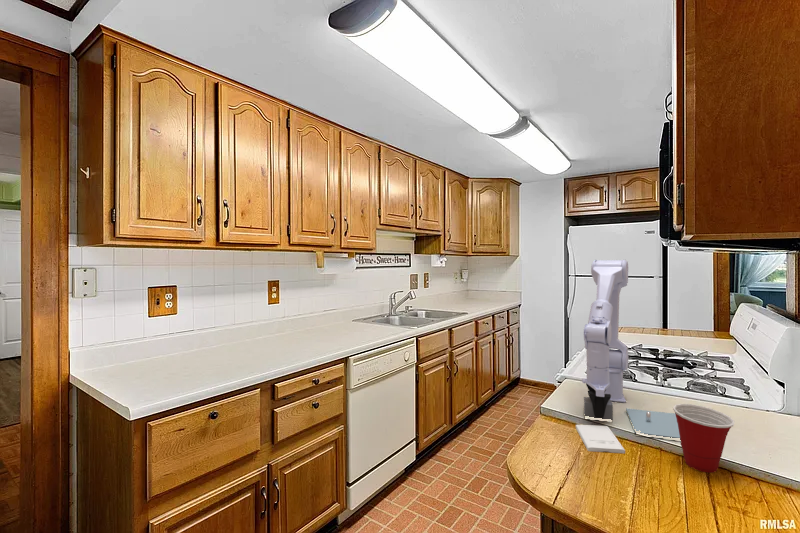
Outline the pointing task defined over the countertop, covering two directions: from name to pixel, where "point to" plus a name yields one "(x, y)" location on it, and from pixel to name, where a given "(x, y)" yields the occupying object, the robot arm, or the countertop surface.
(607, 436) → the external hard drive
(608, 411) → the gray rectangular block
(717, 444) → the plastic cup
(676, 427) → the tray
